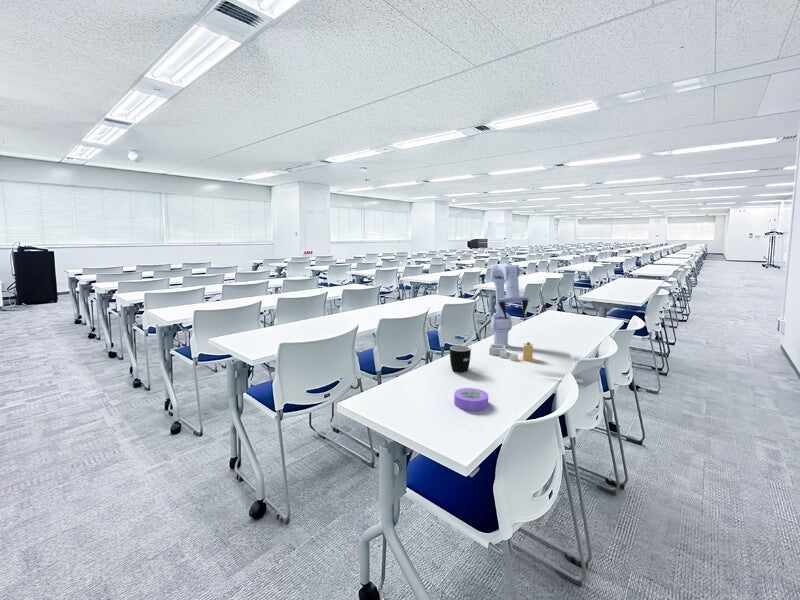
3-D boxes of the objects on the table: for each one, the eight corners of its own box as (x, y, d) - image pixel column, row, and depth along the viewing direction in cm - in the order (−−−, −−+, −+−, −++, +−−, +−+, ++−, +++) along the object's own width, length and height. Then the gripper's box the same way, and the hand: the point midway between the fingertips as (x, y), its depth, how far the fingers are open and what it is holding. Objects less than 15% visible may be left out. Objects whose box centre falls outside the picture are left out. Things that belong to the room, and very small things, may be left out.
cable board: (489, 351, 193) (489, 343, 192) (535, 355, 186) (535, 346, 185) (487, 361, 177) (487, 352, 177) (537, 365, 171) (537, 356, 170)
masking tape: (464, 394, 141) (464, 384, 140) (493, 403, 134) (494, 392, 133) (447, 405, 132) (447, 395, 131) (478, 415, 125) (478, 404, 124)
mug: (463, 375, 160) (464, 352, 158) (445, 371, 166) (445, 348, 164) (477, 368, 169) (477, 346, 167) (459, 363, 175) (460, 342, 173)
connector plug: (522, 357, 179) (523, 341, 178) (531, 358, 178) (532, 341, 177) (523, 360, 175) (523, 343, 174) (532, 360, 174) (533, 344, 173)
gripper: (495, 287, 172) (497, 316, 167) (529, 284, 168) (531, 314, 163) (496, 292, 178) (498, 320, 174) (529, 290, 174) (531, 318, 169)
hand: (514, 317), depth 169 cm, fingers open, 7 cm apart
